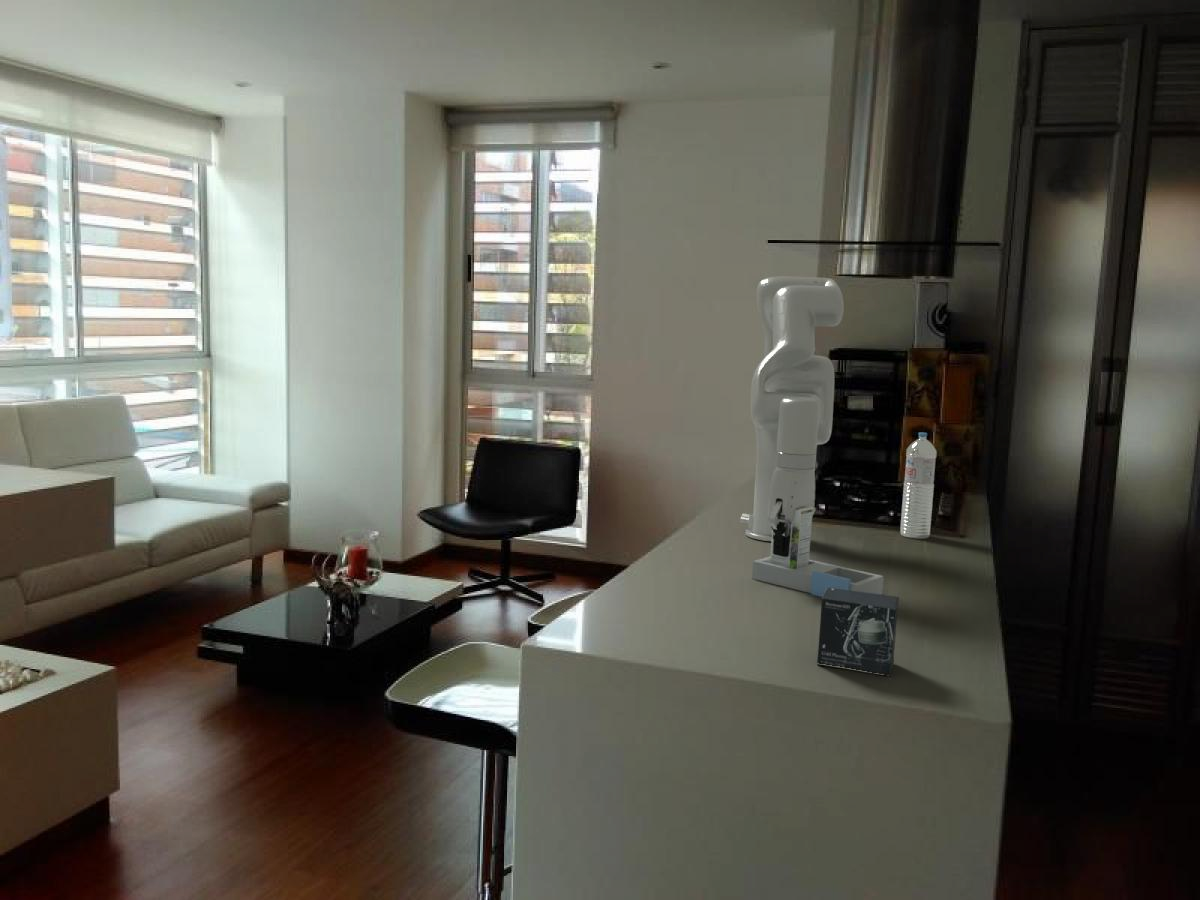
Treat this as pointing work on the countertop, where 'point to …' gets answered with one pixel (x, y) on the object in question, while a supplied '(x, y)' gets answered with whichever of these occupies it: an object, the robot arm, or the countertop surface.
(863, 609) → the box
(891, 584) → the countertop surface
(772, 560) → the syrup box
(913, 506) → the water bottle
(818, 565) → the gray rectangular open frame
